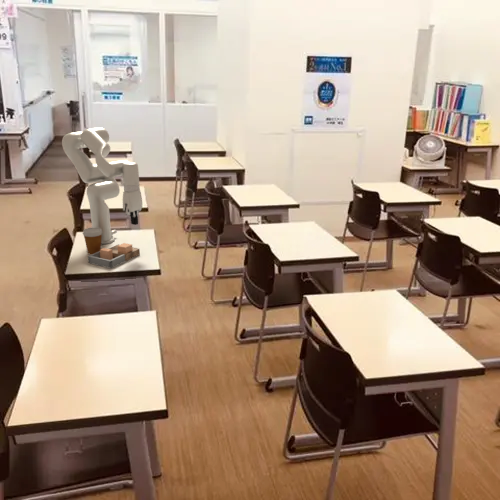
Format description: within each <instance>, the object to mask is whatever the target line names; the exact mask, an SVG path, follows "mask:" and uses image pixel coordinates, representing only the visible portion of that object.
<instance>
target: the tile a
mask: <svg viewBox="0 0 500 500" xmlns="http://www.w3.org/2000/svg"><path fill="white" fill-rule="evenodd" d="M100 258H103V259H107V260H112V259H113V255H112V249H109V248H107V247H103V248H101V249H100Z"/></svg>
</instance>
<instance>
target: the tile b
mask: <svg viewBox="0 0 500 500" xmlns="http://www.w3.org/2000/svg"><path fill="white" fill-rule="evenodd" d="M132 247H133V244H130V243H126V242H123V243H121V244H119V246H118V252H122V253H128V252H130V251H132V250H133V249H132Z"/></svg>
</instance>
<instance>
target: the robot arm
mask: <svg viewBox="0 0 500 500" xmlns="http://www.w3.org/2000/svg"><path fill="white" fill-rule="evenodd" d="M109 141H110V134H109V132H108V131H107V130H106V128H103V127H91V128H86V129H84V130H83V131H82V130H81V131H75V132H74V131H72V132H69V133H67V134H64V136H63V137H62V140H61V145H62V149H63V152H64V153H65V155H66V156H67V158H68V159H69V160H70V161H71V163H72V164H73V166H74V168H75V169H76V172H77V174H78V175H79V177H80V179H81V180H82V182H83V183H85V184H88V186H87V187H86V196H87V199H88V204H89V209H90V210H89V211H90V219H91V221H90V223H91V228H100V229H101V230H102V237H101V245H107V244H111V243H113V242H115V237H114V236H113V235H115V234H116V233H118V231H117V230H116V229H113V230H112V227H111V217H110V207H109V205H108V204H107V203H106V202H105V201H107V200H110V199H111V200H112V199H114V198H117V197H118V196H119V194H121V193H120V191H121V190H120V185H119V183H118V181H117V180H116V178H118V177H122V179H123V180H122V183H123V190H124V191H122V193H123V194H122V211H123V212H125V215H126V216H129V217H130V224H131V225H132V226H133V225H134V226H136V225H139V213H140V212H141V211H142V208H143V197H142V192H141V189H140V188H141V187H140V177H139V176H140V174H139V173H140V172H139V165H138V163H137V162H135V161H129V160H127V159H121V160H115V161H108V160H107V159H106V158H107V156H108V155H109V153H110V152H111V146H110V144H109V143H108V142H109ZM85 148H88V150H90V151H91V153H93V154H94V156H95V158H94V160H95V163H93V162H92V161H91V160H90V157H89V156H88V155H87V154H86V153H85V152H83V151H82V150H80V149H85Z"/></svg>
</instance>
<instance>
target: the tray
mask: <svg viewBox="0 0 500 500" xmlns="http://www.w3.org/2000/svg"><path fill="white" fill-rule="evenodd" d="M87 259H88V260H87V262H88V264H91V265H96V266H100V267H103V268H108V269H109V268H110V269H112V268H115V267H117V266H119V265H121V264H123V263H125V262H126V261H125V255H124V254H123V255H120V256H118V257H116V258H113V259H112V260H107V259H103V258H100V251H99V252H96V253H94V254H92V255H90V254H88V255H87Z"/></svg>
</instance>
